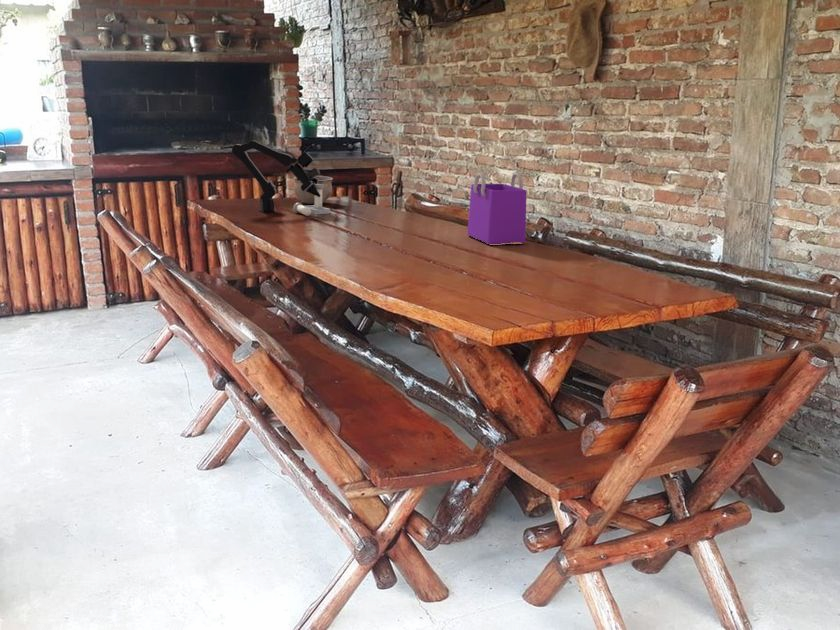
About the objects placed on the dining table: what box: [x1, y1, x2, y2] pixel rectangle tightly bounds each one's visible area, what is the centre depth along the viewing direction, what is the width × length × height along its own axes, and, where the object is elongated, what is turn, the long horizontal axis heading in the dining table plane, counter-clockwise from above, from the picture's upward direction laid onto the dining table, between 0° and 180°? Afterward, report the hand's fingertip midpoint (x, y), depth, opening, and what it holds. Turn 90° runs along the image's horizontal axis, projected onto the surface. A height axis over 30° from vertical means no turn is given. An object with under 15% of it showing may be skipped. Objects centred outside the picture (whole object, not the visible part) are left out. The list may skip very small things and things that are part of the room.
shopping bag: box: [467, 171, 527, 244], centre depth 362 cm, size 28×22×30 cm
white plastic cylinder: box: [293, 202, 311, 217], centre depth 427 cm, size 12×5×5 cm
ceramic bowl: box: [293, 175, 334, 205], centre depth 468 cm, size 22×22×15 cm
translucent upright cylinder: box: [314, 184, 323, 209], centre depth 432 cm, size 5×5×12 cm
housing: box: [304, 204, 331, 216], centre depth 436 cm, size 16×9×2 cm, turn 40°
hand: (321, 195), depth 431 cm, fingers closed on translucent upright cylinder, 4 cm apart
